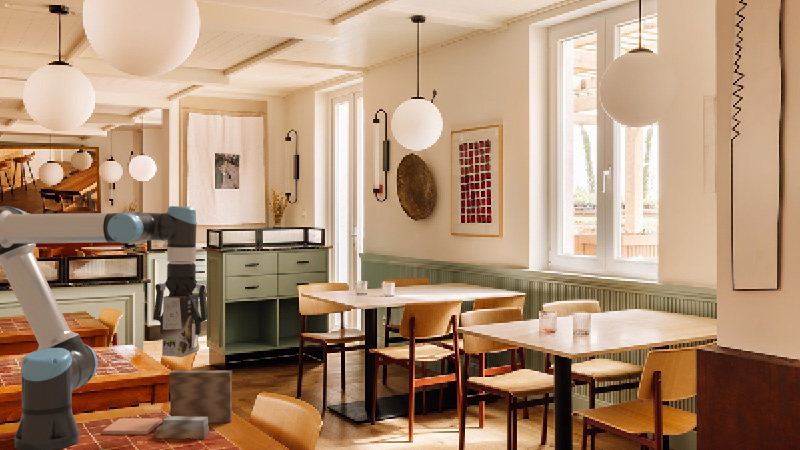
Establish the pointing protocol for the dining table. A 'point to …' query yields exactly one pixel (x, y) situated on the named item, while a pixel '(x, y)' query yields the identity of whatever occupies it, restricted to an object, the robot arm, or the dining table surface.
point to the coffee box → (178, 325)
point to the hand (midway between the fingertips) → (180, 346)
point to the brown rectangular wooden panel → (201, 394)
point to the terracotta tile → (132, 426)
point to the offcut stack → (183, 427)
